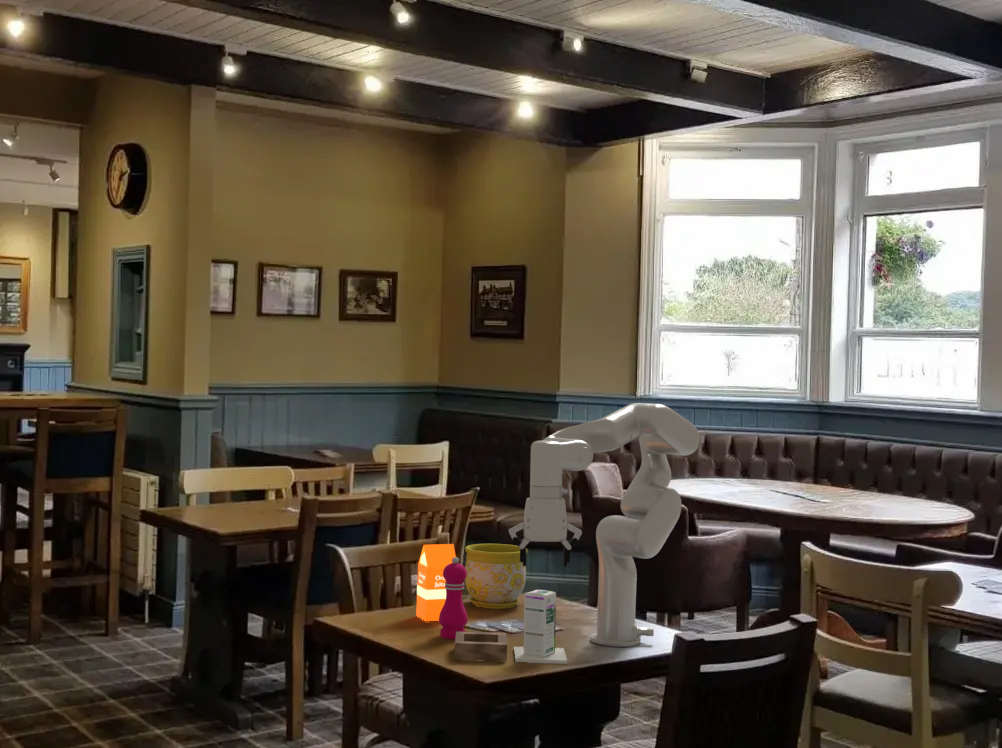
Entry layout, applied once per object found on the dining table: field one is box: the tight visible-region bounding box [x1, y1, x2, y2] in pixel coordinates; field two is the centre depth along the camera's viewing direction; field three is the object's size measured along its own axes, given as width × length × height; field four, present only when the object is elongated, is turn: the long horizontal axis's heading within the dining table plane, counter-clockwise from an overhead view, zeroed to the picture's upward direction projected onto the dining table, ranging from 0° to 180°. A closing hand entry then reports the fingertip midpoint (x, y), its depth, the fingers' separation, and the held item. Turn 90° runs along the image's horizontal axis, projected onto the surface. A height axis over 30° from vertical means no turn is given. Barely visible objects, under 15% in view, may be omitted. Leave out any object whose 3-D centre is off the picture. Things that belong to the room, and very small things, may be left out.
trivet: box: [513, 646, 568, 665], centre depth 265 cm, size 12×12×1 cm
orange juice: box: [415, 543, 457, 623], centre depth 304 cm, size 8×9×20 cm
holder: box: [454, 631, 508, 662], centre depth 265 cm, size 12×12×4 cm
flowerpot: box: [464, 543, 528, 610], centre depth 325 cm, size 18×18×16 cm
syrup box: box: [523, 589, 557, 657], centre depth 265 cm, size 6×6×14 cm
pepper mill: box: [438, 556, 469, 640], centre depth 283 cm, size 7×7×20 cm
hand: (544, 565), depth 265 cm, fingers open, 9 cm apart
